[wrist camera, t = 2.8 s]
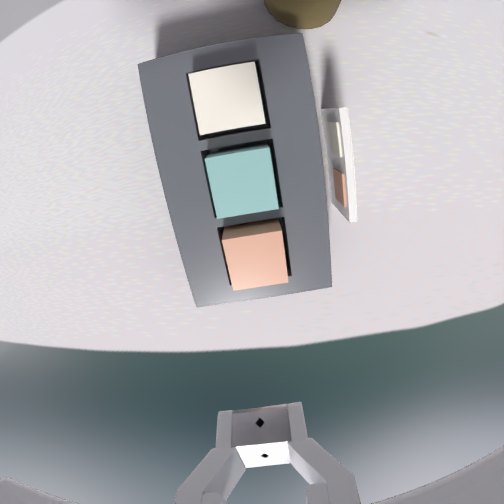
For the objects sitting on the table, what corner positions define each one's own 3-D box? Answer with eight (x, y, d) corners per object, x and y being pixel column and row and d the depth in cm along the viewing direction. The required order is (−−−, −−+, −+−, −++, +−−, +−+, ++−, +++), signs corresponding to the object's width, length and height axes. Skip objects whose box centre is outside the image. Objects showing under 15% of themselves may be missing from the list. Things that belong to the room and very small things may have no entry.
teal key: (266, 143, 21) (269, 147, 18) (274, 196, 22) (278, 209, 20) (210, 153, 21) (204, 158, 18) (220, 205, 23) (217, 219, 20)
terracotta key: (277, 216, 23) (281, 230, 20) (283, 263, 25) (288, 282, 22) (224, 224, 23) (221, 240, 20) (234, 270, 25) (233, 290, 22)
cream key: (253, 69, 18) (254, 61, 16) (262, 122, 20) (265, 123, 17) (196, 79, 19) (188, 74, 16) (206, 132, 20) (200, 135, 18)
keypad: (317, 44, 20) (334, 29, 15) (341, 258, 28) (358, 287, 23) (155, 71, 20) (134, 62, 16) (202, 280, 28) (195, 312, 24)
